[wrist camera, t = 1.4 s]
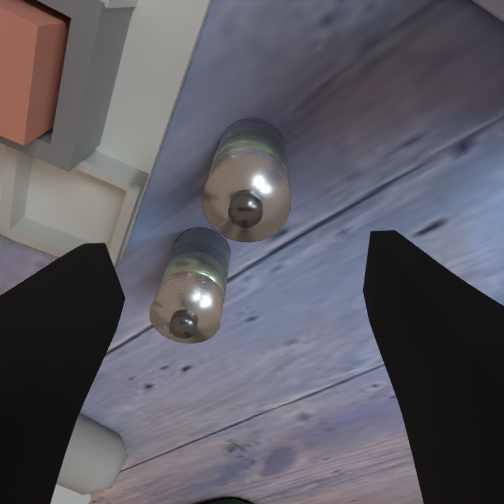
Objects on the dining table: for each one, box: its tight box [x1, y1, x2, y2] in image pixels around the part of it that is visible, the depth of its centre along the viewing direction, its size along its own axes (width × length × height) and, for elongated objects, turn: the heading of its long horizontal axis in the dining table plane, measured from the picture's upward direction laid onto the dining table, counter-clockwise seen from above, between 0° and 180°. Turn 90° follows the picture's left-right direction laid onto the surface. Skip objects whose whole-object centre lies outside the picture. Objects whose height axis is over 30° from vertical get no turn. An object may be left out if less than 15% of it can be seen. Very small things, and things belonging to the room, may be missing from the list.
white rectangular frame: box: [0, 0, 212, 268], centre depth 14 cm, size 11×18×4 cm, turn 154°
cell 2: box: [202, 118, 291, 242], centre depth 15 cm, size 3×3×6 cm
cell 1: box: [150, 228, 230, 343], centre depth 19 cm, size 3×3×6 cm
